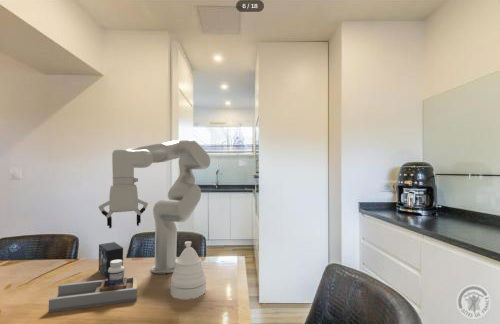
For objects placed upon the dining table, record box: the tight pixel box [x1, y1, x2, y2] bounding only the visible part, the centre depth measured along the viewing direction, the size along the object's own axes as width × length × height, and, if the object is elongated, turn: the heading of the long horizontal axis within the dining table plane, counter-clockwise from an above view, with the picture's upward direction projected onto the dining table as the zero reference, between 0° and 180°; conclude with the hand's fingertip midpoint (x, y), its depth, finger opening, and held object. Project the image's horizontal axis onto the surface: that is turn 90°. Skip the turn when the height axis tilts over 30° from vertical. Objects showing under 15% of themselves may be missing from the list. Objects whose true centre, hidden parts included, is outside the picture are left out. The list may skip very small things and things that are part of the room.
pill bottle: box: [108, 260, 125, 287], centre depth 106 cm, size 5×5×10 cm
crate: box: [95, 276, 132, 292], centre depth 106 cm, size 12×9×4 cm
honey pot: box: [170, 240, 207, 300], centre depth 110 cm, size 13×13×18 cm
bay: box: [48, 275, 138, 314], centre depth 104 cm, size 26×13×4 cm, turn 111°
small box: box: [98, 241, 124, 280], centre depth 129 cm, size 13×7×12 cm, turn 41°
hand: (124, 226), depth 113 cm, fingers open, 9 cm apart
